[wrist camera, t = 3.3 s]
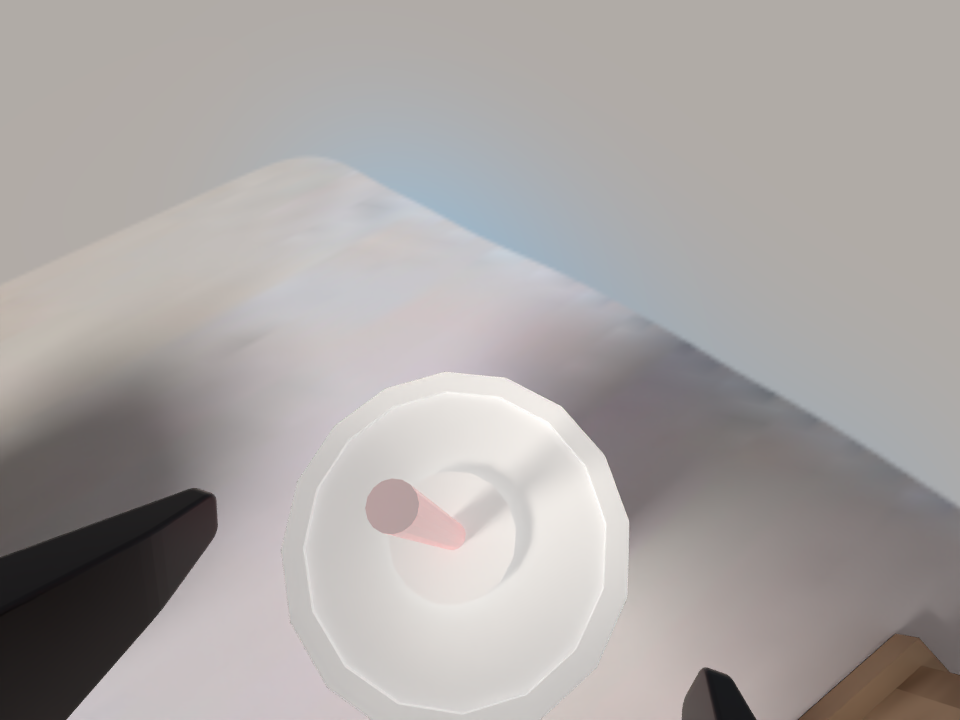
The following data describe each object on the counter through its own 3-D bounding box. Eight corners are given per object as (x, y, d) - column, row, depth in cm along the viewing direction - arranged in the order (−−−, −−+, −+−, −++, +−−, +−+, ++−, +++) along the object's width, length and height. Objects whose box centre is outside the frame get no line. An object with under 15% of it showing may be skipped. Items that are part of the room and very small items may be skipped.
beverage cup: (362, 508, 18) (-6, 367, 5) (519, 427, 19) (533, 130, 6) (437, 693, 16) (128, 1209, 3) (611, 595, 17) (935, 694, 4)
